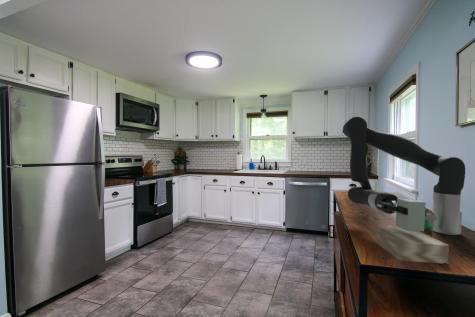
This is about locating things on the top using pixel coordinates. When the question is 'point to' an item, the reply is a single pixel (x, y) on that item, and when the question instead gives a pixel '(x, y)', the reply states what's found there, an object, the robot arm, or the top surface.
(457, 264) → the top surface
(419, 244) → the birch block
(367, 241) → the top surface
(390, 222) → the top surface
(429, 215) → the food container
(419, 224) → the sage block
